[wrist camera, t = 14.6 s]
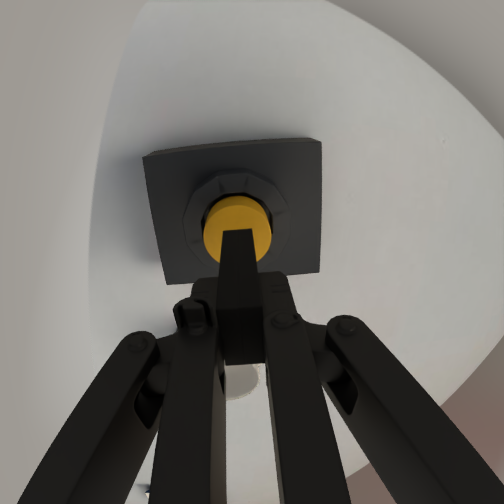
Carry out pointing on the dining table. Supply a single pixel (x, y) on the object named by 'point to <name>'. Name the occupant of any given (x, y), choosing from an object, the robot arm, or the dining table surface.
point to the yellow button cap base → (236, 184)
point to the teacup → (241, 380)
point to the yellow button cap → (236, 224)
